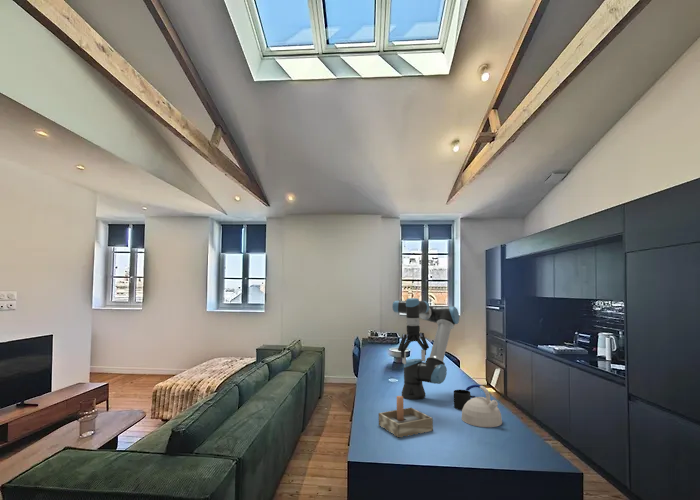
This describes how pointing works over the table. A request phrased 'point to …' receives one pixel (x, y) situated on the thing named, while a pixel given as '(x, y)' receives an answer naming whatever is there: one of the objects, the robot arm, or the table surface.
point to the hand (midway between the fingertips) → (413, 362)
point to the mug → (461, 398)
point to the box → (406, 422)
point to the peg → (400, 408)
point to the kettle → (481, 410)
